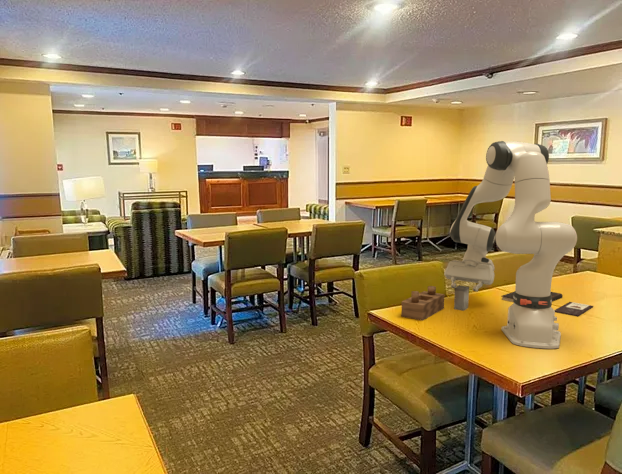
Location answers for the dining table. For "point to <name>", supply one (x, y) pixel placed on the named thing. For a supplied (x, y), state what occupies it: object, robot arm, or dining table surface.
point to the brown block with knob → (423, 304)
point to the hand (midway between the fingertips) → (463, 289)
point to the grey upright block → (461, 297)
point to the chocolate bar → (573, 309)
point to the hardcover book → (510, 295)
